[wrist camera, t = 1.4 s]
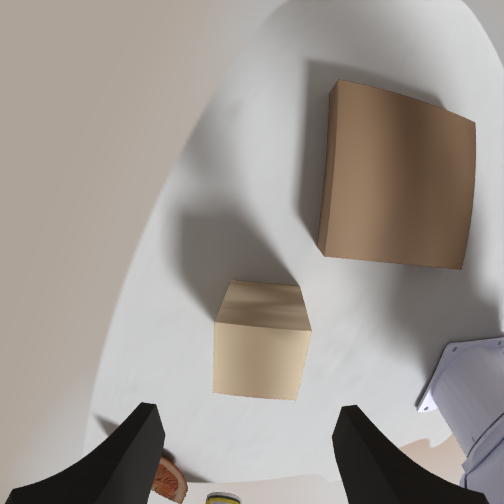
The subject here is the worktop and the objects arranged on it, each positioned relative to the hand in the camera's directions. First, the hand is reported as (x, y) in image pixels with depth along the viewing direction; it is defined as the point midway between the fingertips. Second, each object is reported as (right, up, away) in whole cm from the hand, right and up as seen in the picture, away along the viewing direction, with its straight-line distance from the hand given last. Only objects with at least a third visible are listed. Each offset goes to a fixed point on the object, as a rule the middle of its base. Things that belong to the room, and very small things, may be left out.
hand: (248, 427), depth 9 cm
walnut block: (+10, +12, +7) cm, 17 cm away
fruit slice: (-11, -18, +16) cm, 26 cm away
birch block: (+1, +3, +10) cm, 10 cm away
